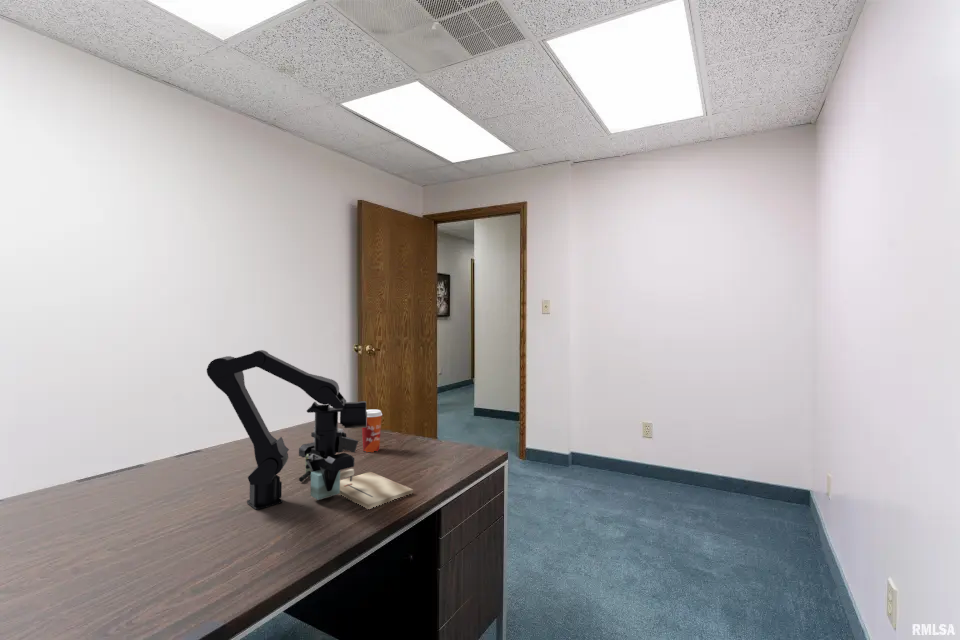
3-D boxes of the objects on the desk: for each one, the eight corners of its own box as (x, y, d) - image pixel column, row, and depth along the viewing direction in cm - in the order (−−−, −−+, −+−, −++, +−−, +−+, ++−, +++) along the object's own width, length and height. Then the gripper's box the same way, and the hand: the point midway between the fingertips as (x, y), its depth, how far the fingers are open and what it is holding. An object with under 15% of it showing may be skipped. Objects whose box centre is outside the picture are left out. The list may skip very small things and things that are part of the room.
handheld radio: (336, 457, 153) (307, 484, 128) (326, 457, 153) (295, 484, 128) (335, 437, 153) (306, 460, 128) (326, 437, 153) (295, 460, 128)
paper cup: (369, 454, 155) (370, 414, 155) (355, 450, 160) (356, 411, 160) (387, 449, 161) (387, 410, 161) (373, 445, 166) (373, 408, 166)
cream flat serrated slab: (368, 509, 111) (368, 504, 111) (327, 488, 124) (327, 483, 124) (412, 493, 121) (412, 489, 121) (370, 475, 134) (370, 471, 134)
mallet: (318, 499, 113) (318, 476, 113) (310, 495, 116) (310, 472, 116) (356, 488, 121) (356, 466, 121) (348, 484, 124) (349, 462, 124)
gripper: (373, 429, 116) (372, 490, 116) (336, 418, 129) (335, 472, 129) (333, 437, 108) (332, 502, 108) (298, 424, 121) (297, 482, 121)
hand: (325, 488), depth 117 cm, fingers closed on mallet, 4 cm apart
